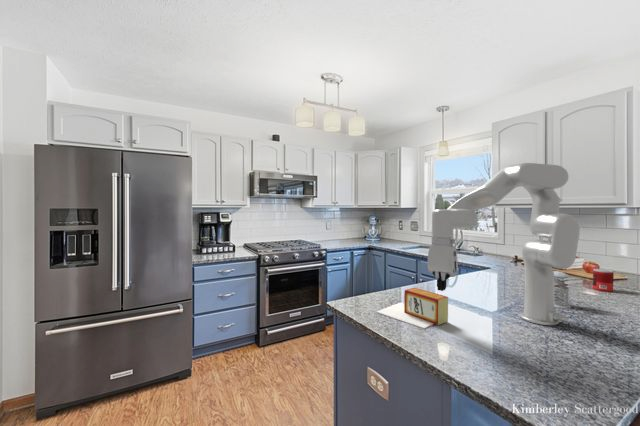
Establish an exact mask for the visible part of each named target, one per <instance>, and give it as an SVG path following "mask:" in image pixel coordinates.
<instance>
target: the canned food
mask: <svg viewBox="0 0 640 426" xmlns="http://www.w3.org/2000/svg"><path fill="white" fill-rule="evenodd" d="M592 289H593V290H595V291H598V292H605V293H612V292H613V291H614V270H611V269H605V268H593V270H592Z"/></svg>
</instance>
